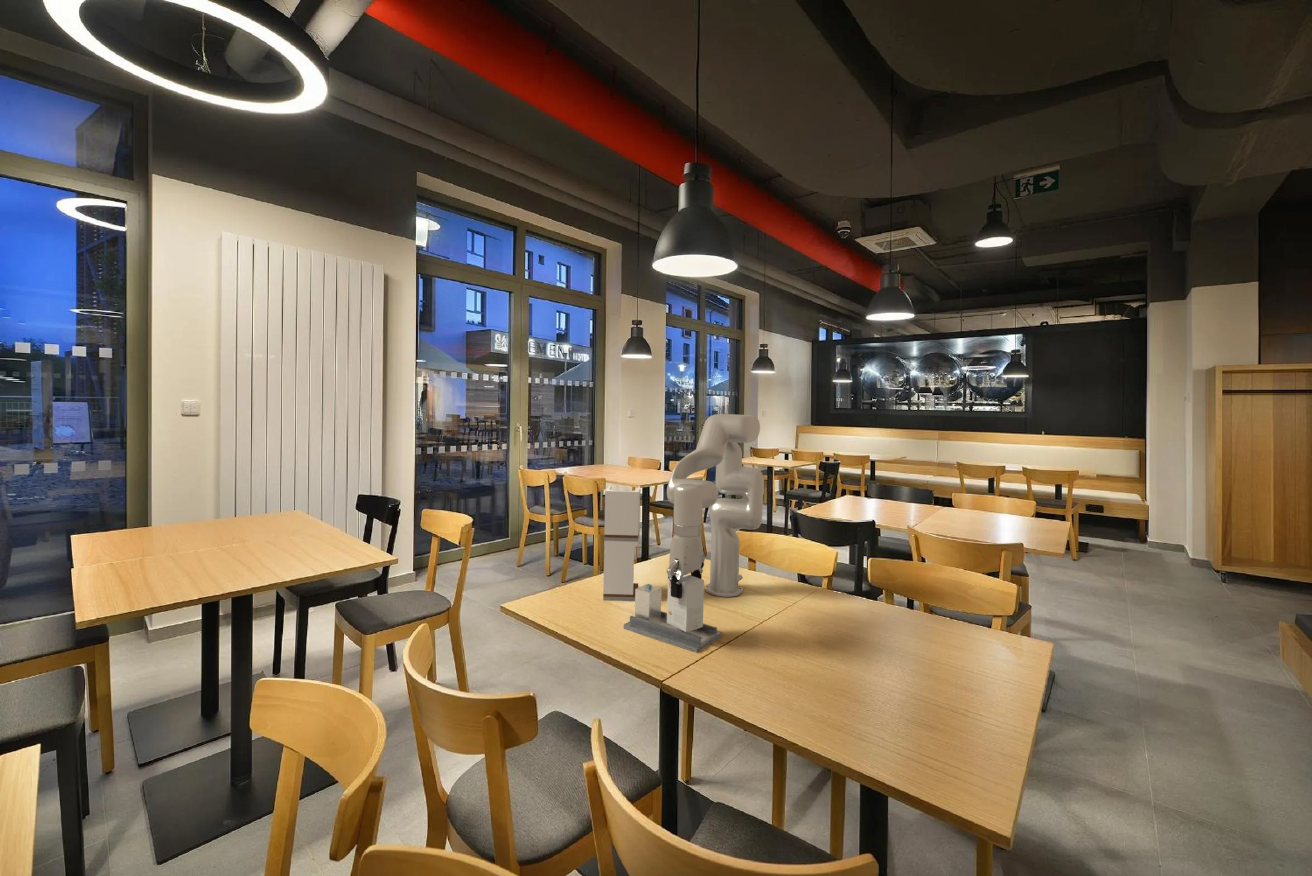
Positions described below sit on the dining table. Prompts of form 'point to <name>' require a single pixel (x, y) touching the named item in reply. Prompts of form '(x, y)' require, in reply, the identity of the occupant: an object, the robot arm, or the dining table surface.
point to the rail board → (665, 623)
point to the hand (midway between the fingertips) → (686, 592)
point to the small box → (686, 604)
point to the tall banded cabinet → (620, 543)
